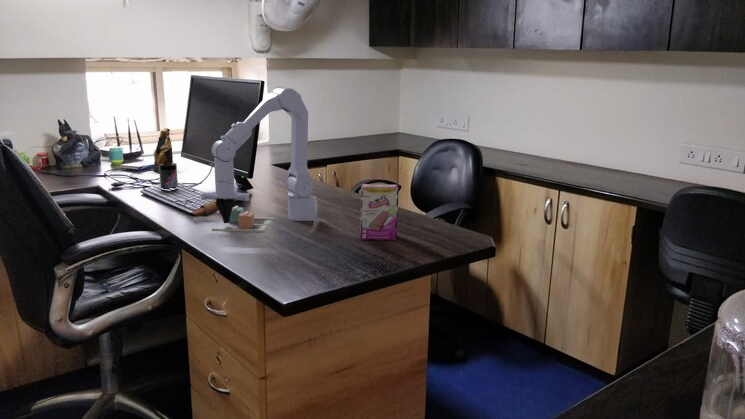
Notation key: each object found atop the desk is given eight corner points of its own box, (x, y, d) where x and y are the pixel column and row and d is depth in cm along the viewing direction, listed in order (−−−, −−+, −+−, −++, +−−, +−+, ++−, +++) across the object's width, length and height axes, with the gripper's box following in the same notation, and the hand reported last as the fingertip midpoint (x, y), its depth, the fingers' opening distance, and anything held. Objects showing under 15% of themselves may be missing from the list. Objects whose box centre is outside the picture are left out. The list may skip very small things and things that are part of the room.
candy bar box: (360, 240, 184) (360, 187, 180) (360, 235, 189) (360, 183, 185) (397, 240, 185) (398, 187, 181) (396, 236, 190) (397, 184, 186)
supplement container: (161, 192, 243) (159, 166, 240) (159, 188, 249) (157, 163, 246) (179, 190, 246) (177, 165, 243) (176, 187, 252) (175, 162, 249)
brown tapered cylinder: (210, 205, 223) (218, 190, 221) (226, 216, 222) (234, 201, 220) (184, 217, 206) (192, 202, 204) (200, 229, 206) (209, 214, 203)
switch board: (274, 223, 202) (273, 217, 201) (263, 236, 187) (263, 230, 187) (226, 221, 203) (225, 216, 202) (212, 234, 188) (211, 228, 188)
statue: (151, 171, 285) (148, 128, 281) (168, 169, 290) (165, 127, 285) (160, 175, 276) (157, 130, 271) (177, 173, 281) (175, 129, 276)
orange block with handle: (254, 225, 194) (254, 211, 193) (251, 228, 190) (250, 214, 189) (241, 224, 194) (241, 210, 193) (238, 228, 190) (238, 214, 189)
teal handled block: (244, 219, 200) (243, 205, 199) (240, 222, 197) (240, 208, 195) (232, 219, 201) (231, 205, 200) (228, 222, 197) (228, 208, 196)
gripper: (251, 177, 192) (252, 219, 196) (205, 176, 193) (207, 218, 196) (245, 182, 186) (247, 225, 189) (198, 181, 186) (200, 224, 189)
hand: (226, 222), depth 192 cm, fingers closed
